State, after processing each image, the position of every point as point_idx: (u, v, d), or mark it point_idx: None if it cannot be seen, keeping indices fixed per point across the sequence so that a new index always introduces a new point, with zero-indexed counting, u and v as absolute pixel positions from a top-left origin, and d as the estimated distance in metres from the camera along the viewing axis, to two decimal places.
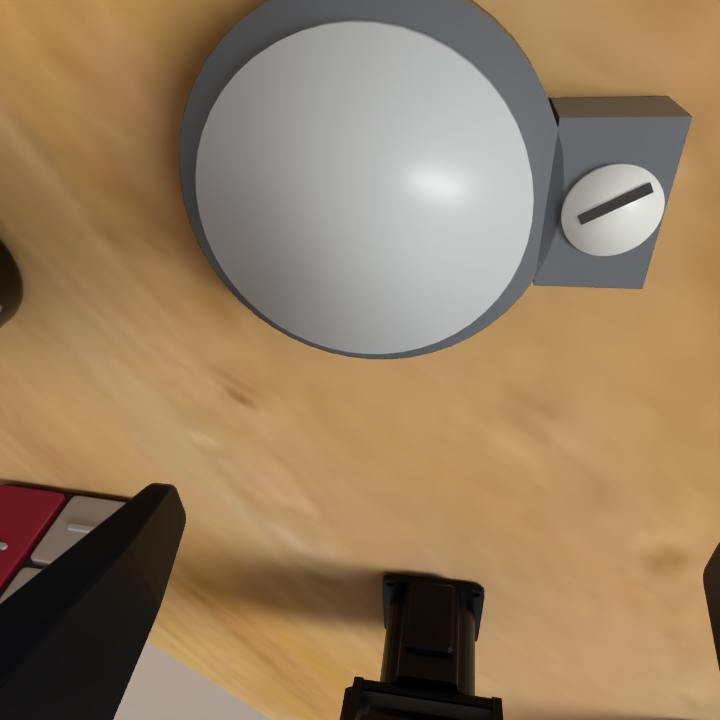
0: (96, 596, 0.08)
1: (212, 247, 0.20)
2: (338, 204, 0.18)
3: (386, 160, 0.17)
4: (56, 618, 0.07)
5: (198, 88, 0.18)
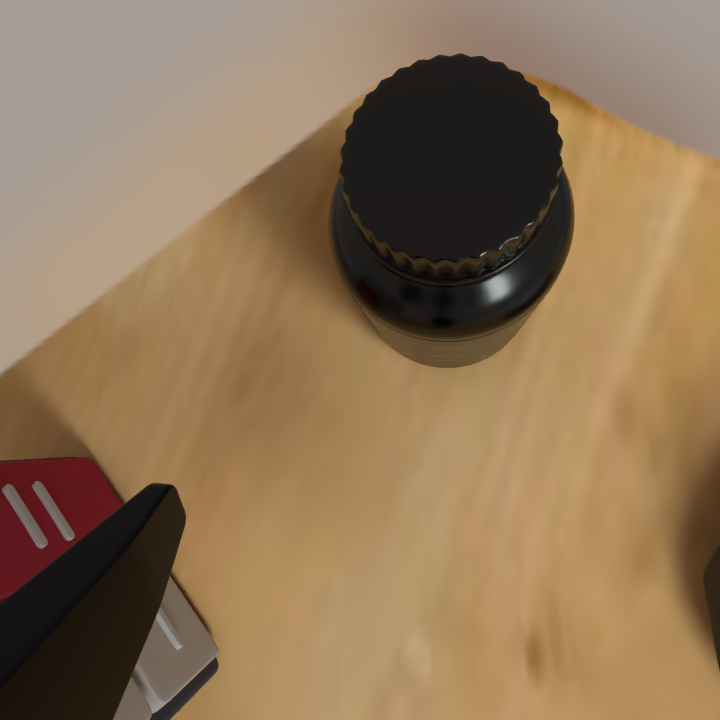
0: (96, 596, 0.08)
1: None
2: None
3: None
4: (56, 618, 0.07)
5: None
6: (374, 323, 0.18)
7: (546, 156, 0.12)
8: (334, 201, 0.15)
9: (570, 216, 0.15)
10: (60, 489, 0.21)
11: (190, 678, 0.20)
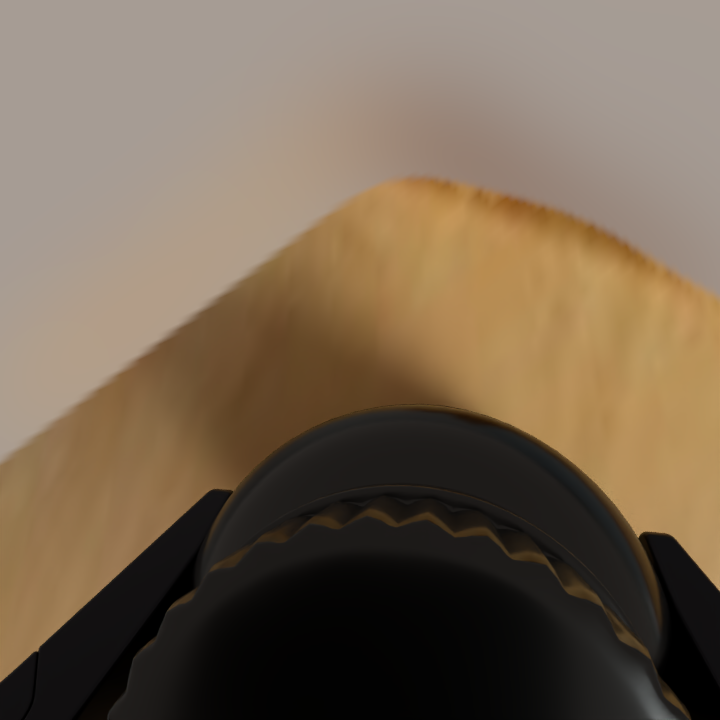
0: None
1: None
2: None
3: None
4: (135, 629, 0.07)
5: None
6: None
7: None
8: None
9: None
10: None
11: None
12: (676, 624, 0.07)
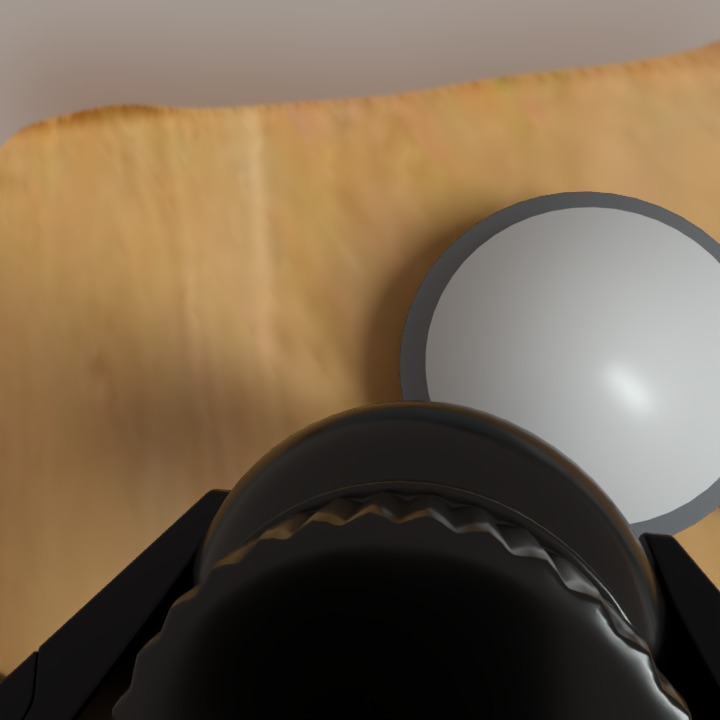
0: (170, 606, 0.08)
1: (428, 345, 0.20)
2: (573, 344, 0.19)
3: (632, 319, 0.19)
4: (135, 629, 0.07)
5: (478, 228, 0.21)
6: None
7: None
8: None
9: None
10: None
11: None
12: (676, 624, 0.07)
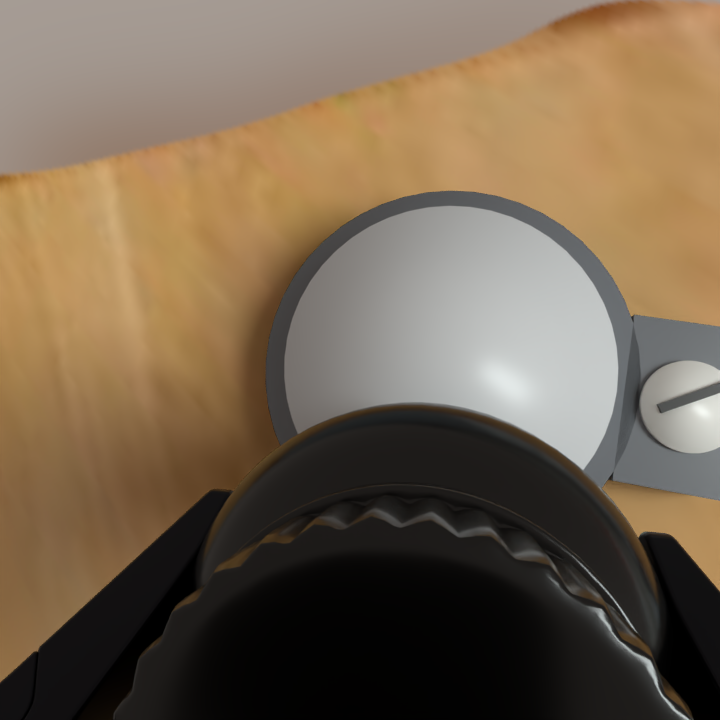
0: (170, 606, 0.08)
1: (286, 371, 0.19)
2: (428, 347, 0.19)
3: (482, 312, 0.19)
4: (135, 629, 0.07)
5: (325, 245, 0.21)
6: None
7: None
8: None
9: None
10: None
11: None
12: (676, 624, 0.07)
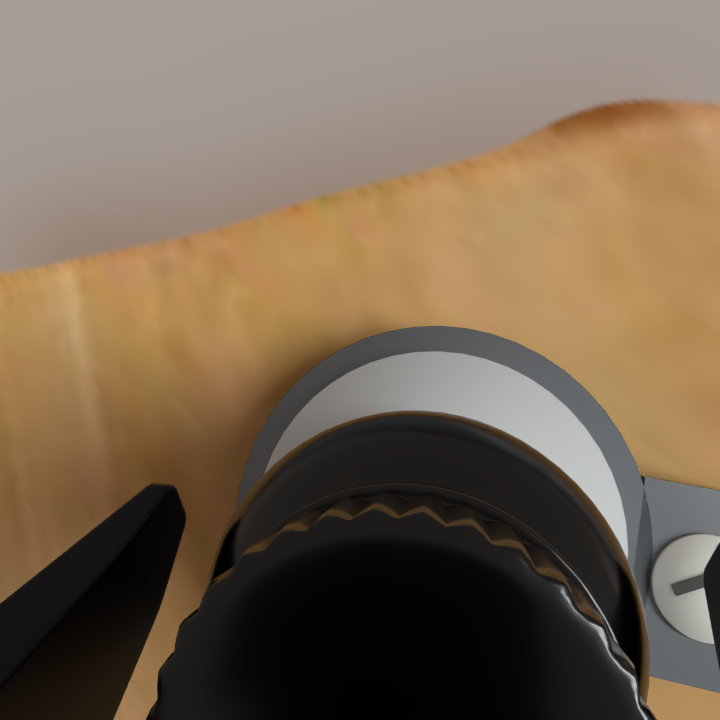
0: (96, 596, 0.08)
1: None
2: None
3: None
4: (56, 618, 0.07)
5: (302, 383, 0.19)
6: None
7: None
8: None
9: (645, 682, 0.08)
10: None
11: None
12: None
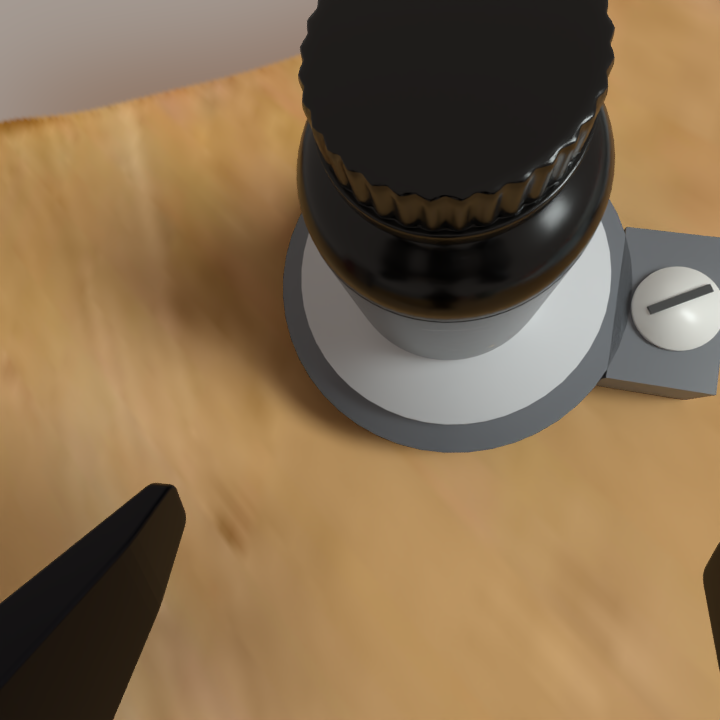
0: (96, 596, 0.08)
1: (303, 282, 0.21)
2: None
3: None
4: (56, 618, 0.07)
5: None
6: (357, 302, 0.14)
7: (591, 48, 0.08)
8: (303, 140, 0.12)
9: (610, 156, 0.11)
10: None
11: None
12: None
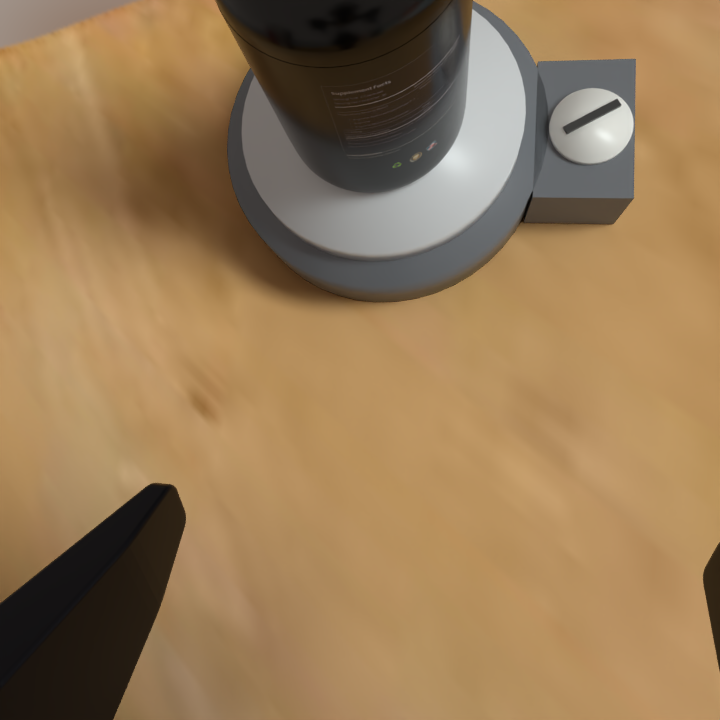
0: (96, 596, 0.08)
1: (244, 145, 0.22)
2: None
3: None
4: (56, 618, 0.07)
5: None
6: (277, 94, 0.16)
7: None
8: None
9: None
10: None
11: None
12: None
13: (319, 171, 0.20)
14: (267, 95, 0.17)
